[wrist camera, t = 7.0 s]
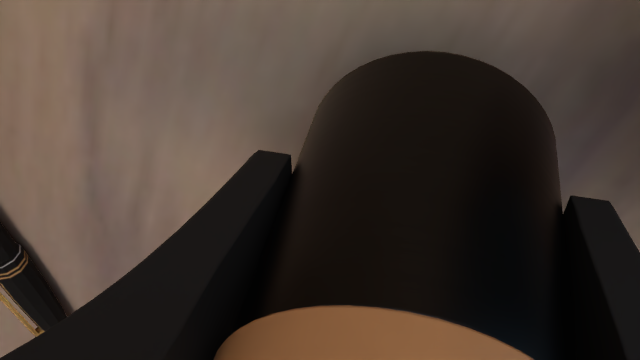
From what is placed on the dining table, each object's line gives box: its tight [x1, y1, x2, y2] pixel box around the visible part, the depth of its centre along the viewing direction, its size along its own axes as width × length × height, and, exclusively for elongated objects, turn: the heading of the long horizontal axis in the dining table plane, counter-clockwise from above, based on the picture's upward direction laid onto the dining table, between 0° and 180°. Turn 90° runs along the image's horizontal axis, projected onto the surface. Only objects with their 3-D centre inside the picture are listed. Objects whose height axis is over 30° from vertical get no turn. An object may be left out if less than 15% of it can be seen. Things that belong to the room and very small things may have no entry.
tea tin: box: [213, 51, 577, 360], centre depth 10 cm, size 5×5×6 cm
